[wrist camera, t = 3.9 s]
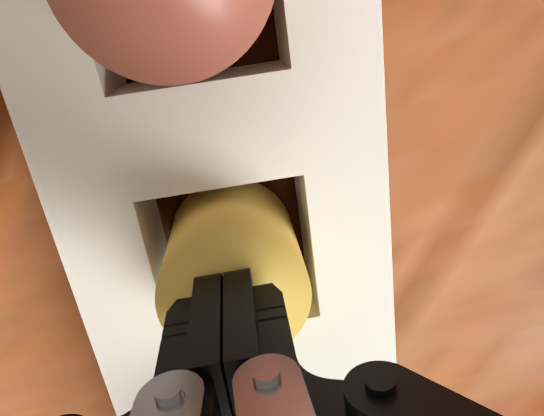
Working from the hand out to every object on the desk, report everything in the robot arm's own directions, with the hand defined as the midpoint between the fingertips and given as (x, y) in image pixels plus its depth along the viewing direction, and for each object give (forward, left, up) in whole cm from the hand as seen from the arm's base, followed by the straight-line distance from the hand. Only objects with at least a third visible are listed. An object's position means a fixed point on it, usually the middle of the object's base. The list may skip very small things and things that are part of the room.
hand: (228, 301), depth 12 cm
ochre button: (0, 0, -4) cm, 4 cm away
